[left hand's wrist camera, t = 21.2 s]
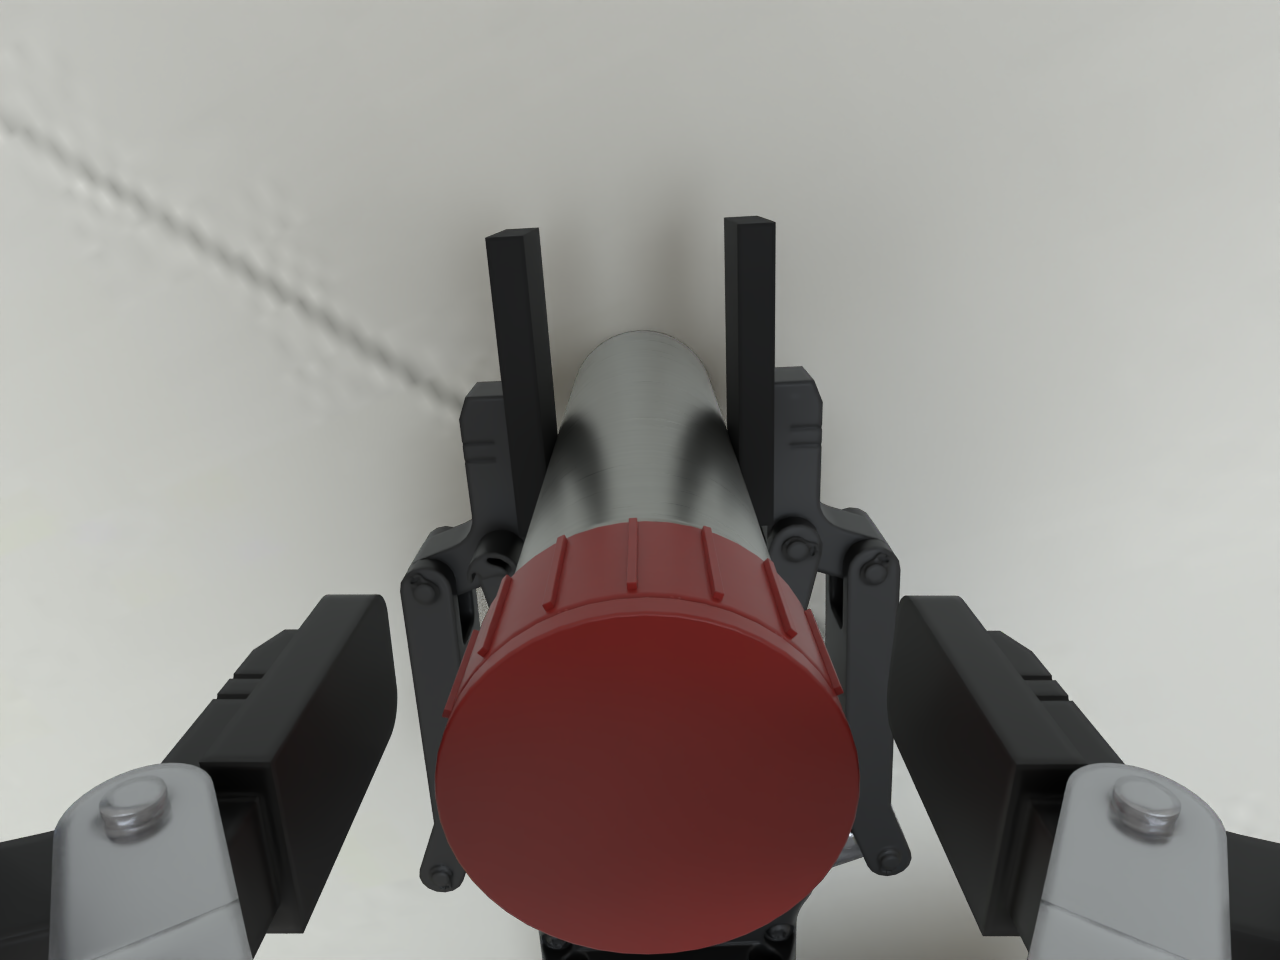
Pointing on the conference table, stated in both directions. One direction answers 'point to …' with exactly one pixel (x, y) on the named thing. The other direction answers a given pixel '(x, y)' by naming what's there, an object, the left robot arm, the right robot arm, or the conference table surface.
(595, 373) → the silver metal cylinder
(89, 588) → the conference table surface
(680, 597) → the lid
